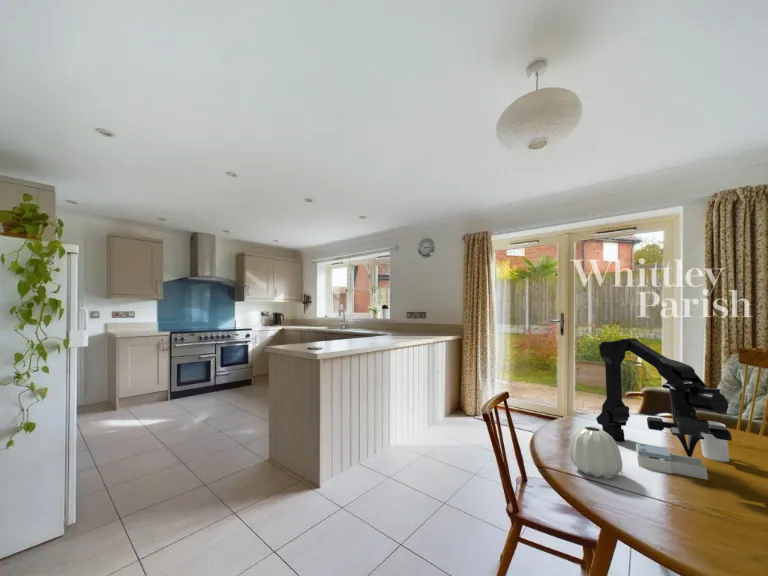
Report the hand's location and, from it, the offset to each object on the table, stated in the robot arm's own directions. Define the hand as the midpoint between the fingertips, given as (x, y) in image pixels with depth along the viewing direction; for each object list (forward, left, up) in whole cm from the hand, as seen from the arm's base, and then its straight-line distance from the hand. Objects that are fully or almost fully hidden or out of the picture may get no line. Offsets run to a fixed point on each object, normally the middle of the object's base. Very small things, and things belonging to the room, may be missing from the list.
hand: (689, 456), depth 97 cm
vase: (-24, -15, -6) cm, 29 cm away
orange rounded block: (-9, +1, -5) cm, 10 cm away
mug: (+9, +20, -6) cm, 23 cm away
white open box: (-5, +4, -5) cm, 8 cm away
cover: (-9, 0, -1) cm, 9 cm away
